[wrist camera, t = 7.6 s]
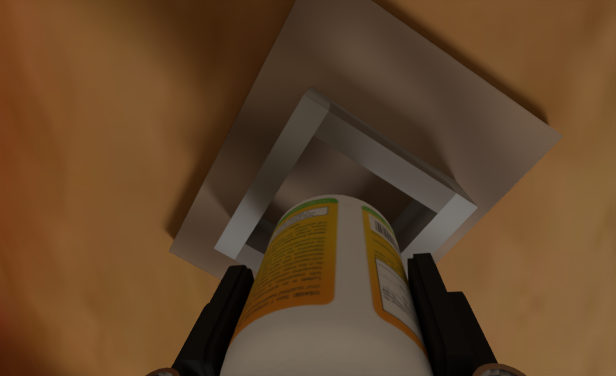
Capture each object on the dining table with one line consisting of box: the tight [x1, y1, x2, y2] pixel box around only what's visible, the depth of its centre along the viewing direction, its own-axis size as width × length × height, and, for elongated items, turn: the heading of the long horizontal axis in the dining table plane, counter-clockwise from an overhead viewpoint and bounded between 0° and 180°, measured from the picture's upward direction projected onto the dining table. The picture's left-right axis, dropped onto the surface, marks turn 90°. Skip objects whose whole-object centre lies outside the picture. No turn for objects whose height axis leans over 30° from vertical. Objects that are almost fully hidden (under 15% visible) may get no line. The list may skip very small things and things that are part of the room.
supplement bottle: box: [220, 195, 434, 376], centre depth 10 cm, size 5×5×10 cm
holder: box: [169, 0, 563, 280], centre depth 17 cm, size 18×14×4 cm
